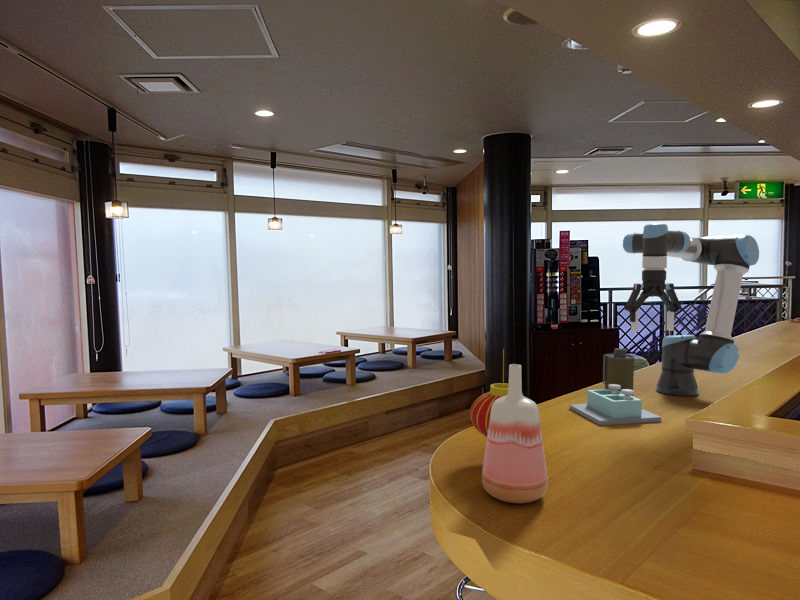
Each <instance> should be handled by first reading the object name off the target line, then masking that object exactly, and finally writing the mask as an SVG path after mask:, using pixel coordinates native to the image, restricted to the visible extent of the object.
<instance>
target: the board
mask: <svg viewBox="0 0 800 600" xmlns="http://www.w3.org/2000/svg"><path fill="white" fill-rule="evenodd" d="M608 388H609V389H612V394H614V393H617V390H619V389H621V386H620V385H617V384H609V385H608ZM621 393H622V394H625V398H624V400H627V399H630V395H633V396H634V395H635V390H634V389H633V390H630V389H622V390H621ZM569 409H570V410H571V411H573V412H575V413H577V414H578V415H580V416H582V417H583V418H586V419H588V420H589V421H591V422H593V423H595V424H597V425H599V426H614V425H631V424H644V423H645V424H646V423H659V422H662V416H661V415H660V416H659V415H658V414H656V413H652V412H651V411H649V410H646V409H644V408H642V412H641V416H640V417H623V418H611V417H609V416H607V415H605V414H603V413H601V412H599V411H597V410H595V409H593V408H591V407H589V406H587V403H575V404H569Z"/></svg>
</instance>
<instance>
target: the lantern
mask: <svg viewBox="0 0 800 600" xmlns="http://www.w3.org/2000/svg"><path fill="white" fill-rule="evenodd" d="M502 356H503V357H502V358H503V359H502V364H503V365H502V383H501V382H500V383H499V382H498V383H492V384H490V390H489V391H488V392H486V393H483V394H481V395H479V396H478V398H476V400H474V402H473V403H472V404H471V408H470V410H469V417H470V421H471V423H472V424H473V427H474V428H475V430H477V432H478V433H480V434H481V435H483V436H484V437H486V438H487V434H488V428H489V421H490V414H491V408H492V404H493V402H494V401H495V400H497V399H498V398H501V397H503V396H506V395H507V394H508V389H509V383H504V378H505V376H504V375H505V373H504V371H505V370H504V369H505V367H504V366H505V358H504V357H505V348H503V350H502Z"/></svg>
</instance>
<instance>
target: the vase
mask: <svg viewBox="0 0 800 600" xmlns="http://www.w3.org/2000/svg"><path fill="white" fill-rule="evenodd" d="M522 381H523V380H522V365H521V364H517V363H512V364H509V366H508V384H509V389H508V394H507V395H506V396H503V397H501V398H498V399H497V400H495V401H494V402H493V404H492V408H491V414H490V421H489V428H488V434H487V437H486V442H485V449H484V455H483V463H482V469H481V484H482V487H483V489H484V490H485V492H486V493H488V494H489V495H490V496H491V497H493V498H495V499H497V500H499V501H502V502H505V503H511V504H529V503H532V502H535V501H537V500H539V499H541V498H542V497H543V496H544V495H545V494H546V492H547V489H548V473H547V472H548V471H547V464H546V456H545V449H544V441H543V434H542V426H541V420H540V419H541V418H540V412H539V407H538V404H537V403H536V402H535V401H533V400H532V399H530V398H528V397H526V396H524V394H523V391H522V390H523V389H522V386H523V385H522V383H523V382H522Z"/></svg>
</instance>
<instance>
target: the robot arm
mask: <svg viewBox="0 0 800 600" xmlns="http://www.w3.org/2000/svg"><path fill="white" fill-rule="evenodd" d="M622 247H623V250H624V251H625V252H626V253H627V254H642V260H641V261H642V263H641V264H642V265H641V266H642V271H641V281H642V284H641V283H633V287H632V291H631V293H630V295H629V298H628V300H627V302H626V304H625V306H624V309H623V310H624V311H627V312H629V322H630V323H631V325H630V326H631V327H630V331H631V332H634V333H638V332H639V312H637V311H638V310H639V309H640V308H641V306H642V305H643V304H644V303H645V301H646V300H647V299H648V298H649V297H656V298H657V297H658V298H659V299H660V300H661V301H662V302H663V304H664V305H665V307H666V308H667V310H668V311H666V331H670V332H672V331H673V332H674V329H675V327H674V326H675V321H676V317H677V313H678V312H679V311H680V310H682V306H681V305H682V304H681V303H680V301H679V298H678V295H677V293H676V291H675V285H674V283H670V282H669V283H668V282H667V283H666V280H667V271H666V268H667V267H668V266H667V265H668V263H667V261H668V257H671V258H679V259H682V260H683V261H686V262H690V263H697V264H700V265H701V264H702V265H708V266H713V268H714V269H715V270H716V277H715V280H714V281H715V282H714V287H713V290H712V291H713V292H712V294H711V295H712V296H711V300H710V305H709V309H708V315H707V320H706V325H705V328H704V331H702V332H701V333H700V334H699V335H698V339H696V338H697V337H696V336H695V335H694V334H678V335H677V334H675V335H666V336H664V337H663V338H662V344H661V371H660V374H659V377H658V380H657V383H656V384H655V385H656V387H655V388H656V389H655V390H656V391H657V392H660V393H661V394H666V395H670V396H671V395H672V396H679V397H680V396H681V397H693V396H697V395H699V386H698V382H697V379H696V377H695V370H697V371H703V372H710V373H713V374H728V373H730V372H731V371H733V370H734V368H735V367H736V366H737V363H738V361H739V357H740V352H739V351H740V350H739V347H738V346H737V345H736V344H735V339H734V338H733V337H732V332H733V327H734V321H735V317H736V310H737V307H738V302H739V296H740V292H741V287H742V282H743V278H744V277H743V276H744V275H745V274H747V273H749V271H750V266H751V267H752V266H755V265H756V264H758V263H757V262H759V258H760V249H759V245H758V242H757V240H756V238H755V237H753V236H752V235H750V234H739V233H738V234H732V235H731V234H730V235H728V234H727V235H709V236H703V237H702V236H701V237H691V236H689V233H687V232H685V231H681V230H669V225H667V224H666V223H649V224H646V225H644V226H643V231H642V232H632V233H627V234H626V235H624V237H623V240H622Z"/></svg>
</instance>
